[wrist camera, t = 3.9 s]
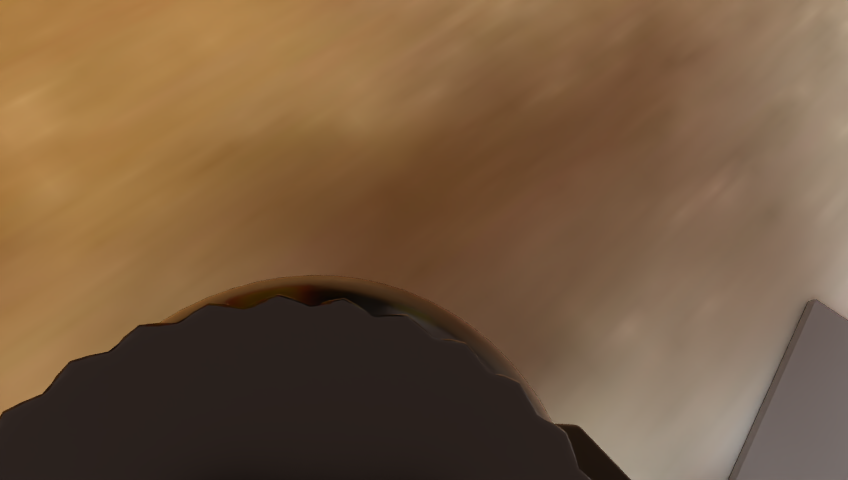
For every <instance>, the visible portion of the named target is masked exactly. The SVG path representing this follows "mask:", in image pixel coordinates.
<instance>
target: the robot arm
mask: <svg viewBox="0 0 848 480" xmlns="http://www.w3.org/2000/svg"><path fill="white" fill-rule="evenodd" d="M555 425H557V426H558V427H560V428H561V429H563V430H564V431H565V432H566V433H567V435H568V438H569V440H570V442H571V445H572V447H573V450H574V453H575V457H576V460H577V464H578V467H579V469H580V470H581V471H582V472H583V473H584V474H586V475H587V476H588V477H589V478H590V479H592V480H631V479H630V478H629V477H628V476H627V475H626V474H625V473H624V472H623V471H622V470H621V469H620V468H619V467H618V466H617V465H616V464H615V463H614V462H613V461H612V460H611V458H610V457H609V456H608V455H607V454H606V453H605V452H604V451H603V450H602V449H601V448H600V447H599V446H598V445H597V444H596V443H595V442H594V441H593V440H592V439H591V438H590V437H589V436H588V435H587V433H586V432H585V431H584V430H583V429H582V428H580V427H579V426H577V425H572V424H555Z"/></svg>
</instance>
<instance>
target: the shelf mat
mask: <svg viewBox="0 0 848 480" xmlns="http://www.w3.org/2000/svg"><path fill="white" fill-rule="evenodd" d="M729 480H848V320H846V319H845V318H843V317H842V316H840V315H839V314H837V313H836V312H834V311H833V310H831V309H830V308H828V307H827V306H825V305H824V304H822V303H821V302H819V301H818V300H816V299H815V300H811V301H808V304H807V306H806V308H805V310H804V312H803V315H802V317H801V319H800V321H799V324H798V326H797V328H796V330H795V333H794V335H793V337H792V339H791V341H790V344H789V346H788V348H787V350H786V353H785V355H784V357H783V359H782V362H781V364H780V366H779V368H778V370H777V373H776V375H775V377H774V379H773V382H772V384H771V386H770V388H769V391H768V393H767V395H766V397H765V399H764V402H763V404H762V406H761V408H760V411H759V413H758V415H757V417H756V420H755V422H754V424H753V426H752V428H751V431H750V433H749V435H748V437H747V440H746V442H745V444H744V446H743V449H742V451H741V453H740V455H739V457H738V460H737V462H736V464H735V466H734V469H733V471H732V473H731V475H730V478H729Z"/></svg>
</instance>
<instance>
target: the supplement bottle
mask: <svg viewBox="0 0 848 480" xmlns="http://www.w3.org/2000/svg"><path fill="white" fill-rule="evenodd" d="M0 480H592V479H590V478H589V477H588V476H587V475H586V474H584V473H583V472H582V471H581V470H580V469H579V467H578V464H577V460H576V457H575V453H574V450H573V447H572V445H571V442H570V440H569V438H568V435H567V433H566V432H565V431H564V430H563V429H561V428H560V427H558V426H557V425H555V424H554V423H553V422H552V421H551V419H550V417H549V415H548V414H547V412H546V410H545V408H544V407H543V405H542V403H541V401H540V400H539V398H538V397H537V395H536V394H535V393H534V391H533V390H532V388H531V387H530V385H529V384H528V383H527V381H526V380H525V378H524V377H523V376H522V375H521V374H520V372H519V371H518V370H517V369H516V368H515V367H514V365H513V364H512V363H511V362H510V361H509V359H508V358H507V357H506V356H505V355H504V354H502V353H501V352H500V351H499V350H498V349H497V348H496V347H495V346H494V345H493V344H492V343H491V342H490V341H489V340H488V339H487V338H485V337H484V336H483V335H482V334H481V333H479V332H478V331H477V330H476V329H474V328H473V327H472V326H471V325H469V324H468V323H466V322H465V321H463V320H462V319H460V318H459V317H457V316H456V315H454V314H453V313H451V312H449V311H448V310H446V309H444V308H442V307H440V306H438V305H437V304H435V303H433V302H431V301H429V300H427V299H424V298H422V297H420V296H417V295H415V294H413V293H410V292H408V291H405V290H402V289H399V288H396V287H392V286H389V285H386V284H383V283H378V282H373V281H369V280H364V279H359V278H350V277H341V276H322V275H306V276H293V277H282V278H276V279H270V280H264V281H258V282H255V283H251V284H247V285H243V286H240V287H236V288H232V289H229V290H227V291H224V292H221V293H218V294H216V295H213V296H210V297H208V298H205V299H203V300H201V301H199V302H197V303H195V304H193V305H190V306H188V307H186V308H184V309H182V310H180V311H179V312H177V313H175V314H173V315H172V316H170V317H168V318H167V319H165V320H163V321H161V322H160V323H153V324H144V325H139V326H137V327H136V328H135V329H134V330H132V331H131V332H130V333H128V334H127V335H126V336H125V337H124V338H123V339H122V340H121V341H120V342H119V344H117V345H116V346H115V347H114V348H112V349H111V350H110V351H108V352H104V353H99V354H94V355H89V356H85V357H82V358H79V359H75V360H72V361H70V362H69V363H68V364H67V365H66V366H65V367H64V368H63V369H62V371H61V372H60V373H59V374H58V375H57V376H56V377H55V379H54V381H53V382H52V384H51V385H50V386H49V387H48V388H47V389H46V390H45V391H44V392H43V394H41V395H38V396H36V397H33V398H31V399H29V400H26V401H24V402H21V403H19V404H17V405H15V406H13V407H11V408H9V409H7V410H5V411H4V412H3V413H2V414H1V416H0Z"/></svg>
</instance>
